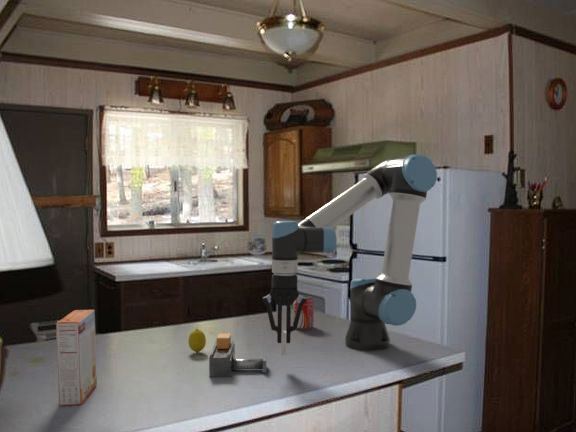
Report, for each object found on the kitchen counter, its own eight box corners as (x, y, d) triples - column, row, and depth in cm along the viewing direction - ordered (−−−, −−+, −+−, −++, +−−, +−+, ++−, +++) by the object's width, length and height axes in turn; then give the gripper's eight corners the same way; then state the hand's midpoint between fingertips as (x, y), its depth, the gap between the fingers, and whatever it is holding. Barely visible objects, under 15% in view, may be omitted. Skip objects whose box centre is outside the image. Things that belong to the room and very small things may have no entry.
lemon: (202, 356, 169) (202, 331, 169) (186, 355, 170) (185, 330, 170) (208, 351, 175) (208, 327, 174) (192, 350, 176) (192, 326, 175)
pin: (266, 366, 158) (266, 355, 158) (266, 372, 153) (266, 360, 152) (223, 366, 158) (223, 355, 158) (221, 372, 152) (220, 361, 152)
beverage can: (290, 326, 208) (290, 295, 207) (310, 324, 210) (310, 294, 209) (295, 331, 200) (295, 299, 200) (316, 329, 202) (316, 298, 202)
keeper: (231, 343, 163) (230, 333, 163) (229, 348, 157) (229, 338, 157) (219, 343, 163) (218, 333, 163) (216, 348, 157) (216, 338, 157)
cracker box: (74, 386, 143) (73, 309, 142) (97, 385, 143) (96, 308, 143) (56, 406, 129) (54, 321, 128) (81, 405, 129) (80, 321, 129)
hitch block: (234, 361, 164) (234, 341, 163) (230, 376, 150) (230, 354, 149) (215, 361, 164) (215, 341, 163) (209, 376, 150) (209, 354, 149)
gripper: (261, 275, 151) (260, 357, 151) (307, 275, 151) (306, 357, 151) (262, 271, 158) (261, 350, 159) (306, 272, 158) (305, 350, 159)
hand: (283, 353), depth 155 cm, fingers closed
